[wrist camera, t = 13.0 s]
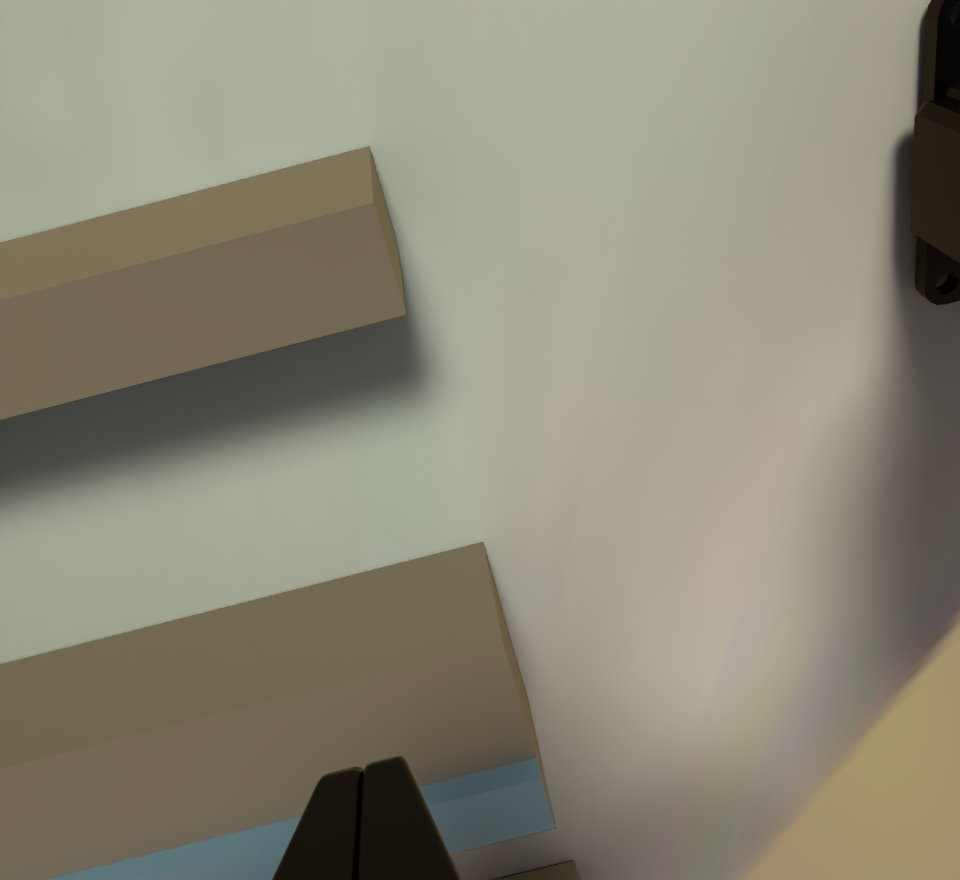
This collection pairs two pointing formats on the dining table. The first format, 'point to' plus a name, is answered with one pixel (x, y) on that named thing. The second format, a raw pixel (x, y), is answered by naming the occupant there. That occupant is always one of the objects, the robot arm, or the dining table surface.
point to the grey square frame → (255, 624)
